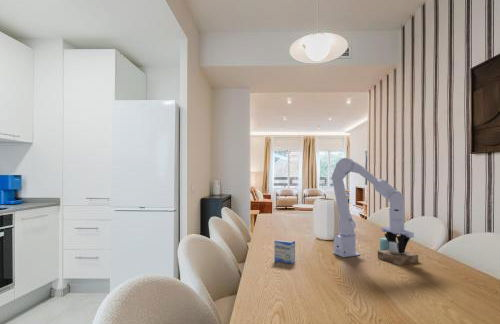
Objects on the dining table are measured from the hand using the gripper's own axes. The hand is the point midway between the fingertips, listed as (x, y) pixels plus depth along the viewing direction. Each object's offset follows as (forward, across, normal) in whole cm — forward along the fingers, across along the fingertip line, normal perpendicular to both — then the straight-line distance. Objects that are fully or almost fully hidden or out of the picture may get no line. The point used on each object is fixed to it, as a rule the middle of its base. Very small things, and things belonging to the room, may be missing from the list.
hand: (397, 251), depth 126 cm
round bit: (+4, +12, -7) cm, 14 cm away
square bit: (+2, 0, 0) cm, 2 cm away
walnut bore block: (+4, 0, 0) cm, 4 cm away
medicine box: (+4, +18, +45) cm, 49 cm away
